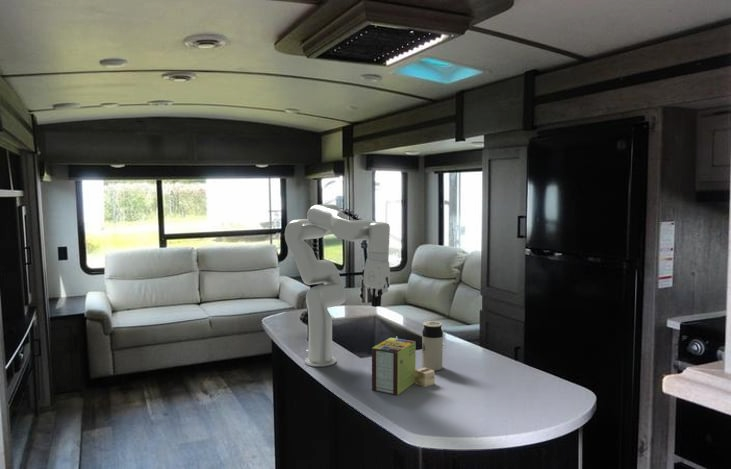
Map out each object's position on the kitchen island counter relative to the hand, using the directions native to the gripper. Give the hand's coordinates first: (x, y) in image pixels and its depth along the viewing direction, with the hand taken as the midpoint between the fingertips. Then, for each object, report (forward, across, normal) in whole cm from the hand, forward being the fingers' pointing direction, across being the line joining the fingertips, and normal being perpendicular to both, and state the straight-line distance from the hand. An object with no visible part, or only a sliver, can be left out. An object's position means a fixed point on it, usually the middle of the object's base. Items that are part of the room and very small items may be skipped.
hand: (376, 306), depth 201 cm
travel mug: (+28, +5, +27) cm, 39 cm away
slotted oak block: (+28, +15, +12) cm, 34 cm away
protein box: (+28, +9, +2) cm, 30 cm away
